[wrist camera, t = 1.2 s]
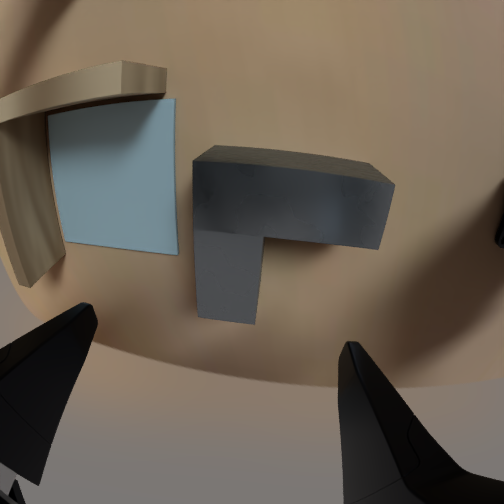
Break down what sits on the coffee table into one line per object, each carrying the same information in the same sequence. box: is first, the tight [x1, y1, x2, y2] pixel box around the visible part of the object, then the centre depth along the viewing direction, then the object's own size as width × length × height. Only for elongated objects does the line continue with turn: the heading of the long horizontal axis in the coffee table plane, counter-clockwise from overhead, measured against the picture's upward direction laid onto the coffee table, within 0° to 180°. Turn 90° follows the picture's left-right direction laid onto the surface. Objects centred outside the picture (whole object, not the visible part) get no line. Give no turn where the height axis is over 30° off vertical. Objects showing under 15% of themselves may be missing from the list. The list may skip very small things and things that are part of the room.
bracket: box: [193, 145, 395, 325], centre depth 12 cm, size 7×7×4 cm
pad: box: [48, 99, 179, 255], centre depth 13 cm, size 8×8×1 cm
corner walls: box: [0, 61, 167, 288], centre depth 12 cm, size 9×11×4 cm
